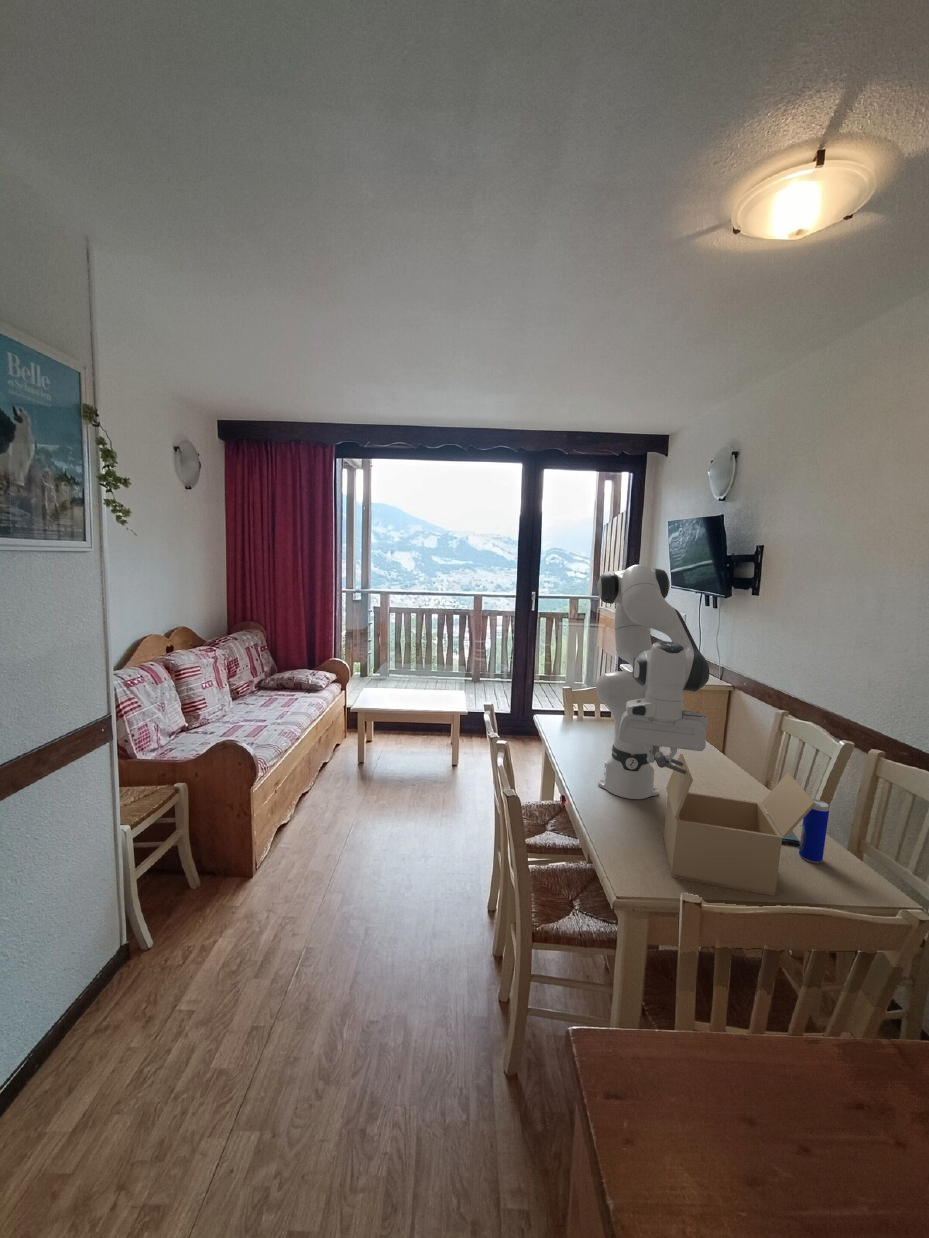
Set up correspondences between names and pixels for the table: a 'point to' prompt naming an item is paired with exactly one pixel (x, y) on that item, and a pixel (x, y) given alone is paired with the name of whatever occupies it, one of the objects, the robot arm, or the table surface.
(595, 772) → the table surface
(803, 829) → the beverage can
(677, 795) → the flap
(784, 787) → the flap
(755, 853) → the carton
